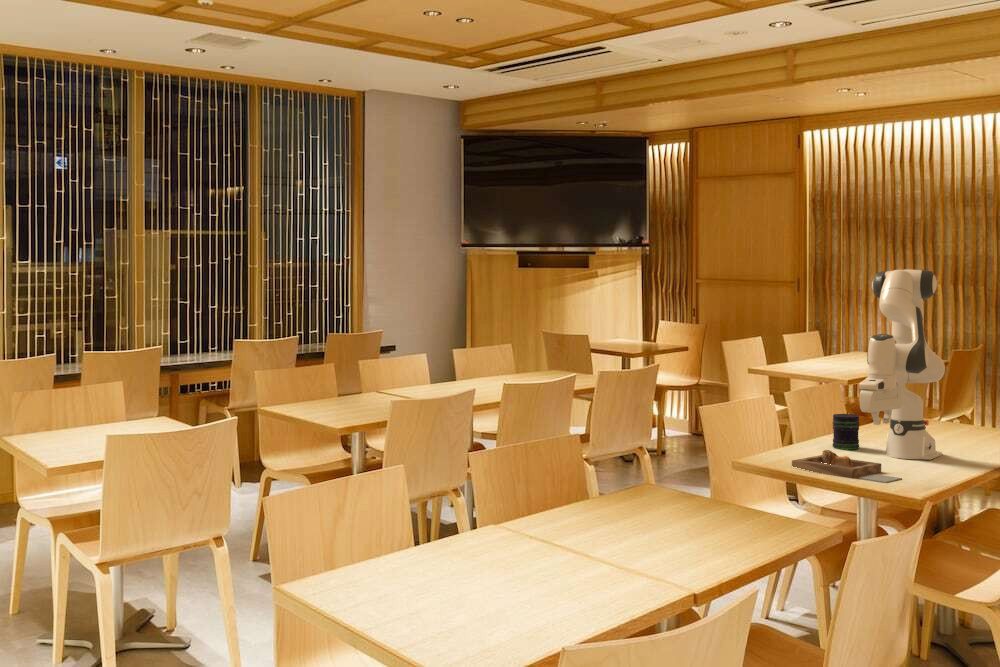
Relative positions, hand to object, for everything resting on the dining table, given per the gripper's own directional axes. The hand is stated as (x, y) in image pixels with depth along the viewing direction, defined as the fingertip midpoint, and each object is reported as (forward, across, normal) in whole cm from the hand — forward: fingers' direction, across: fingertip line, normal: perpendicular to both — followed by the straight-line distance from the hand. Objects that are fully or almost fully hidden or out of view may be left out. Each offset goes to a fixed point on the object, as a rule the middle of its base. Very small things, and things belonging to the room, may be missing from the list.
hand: (881, 424), depth 321 cm
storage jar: (+19, -39, -38) cm, 58 cm away
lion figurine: (+19, -3, -18) cm, 26 cm away
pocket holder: (+19, -3, -19) cm, 27 cm away
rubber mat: (+19, 0, 0) cm, 19 cm away
